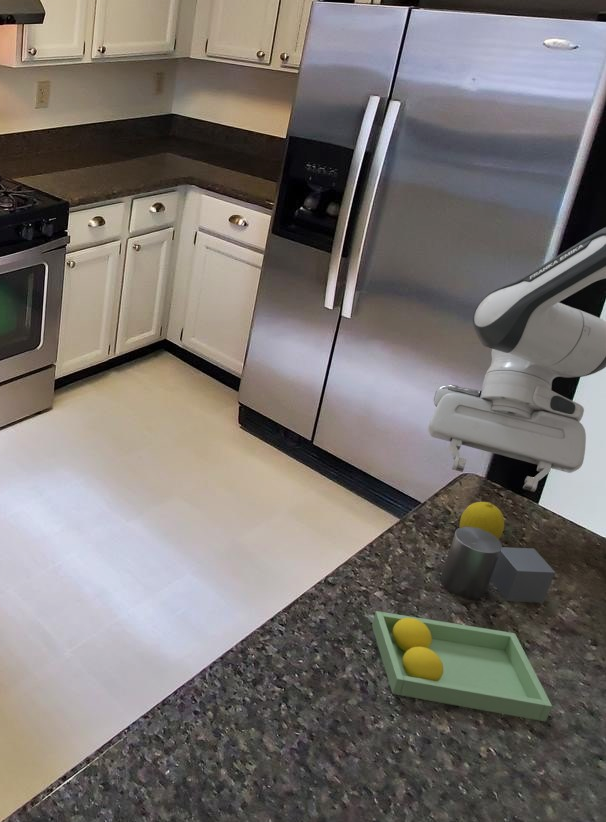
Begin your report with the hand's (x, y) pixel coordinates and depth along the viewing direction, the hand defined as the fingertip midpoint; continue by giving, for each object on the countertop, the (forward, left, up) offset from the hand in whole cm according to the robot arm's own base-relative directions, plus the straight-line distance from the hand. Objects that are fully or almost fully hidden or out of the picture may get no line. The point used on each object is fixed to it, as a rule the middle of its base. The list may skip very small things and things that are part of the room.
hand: (492, 479), depth 124 cm
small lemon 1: (+17, +31, -8) cm, 36 cm away
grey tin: (+7, +16, -9) cm, 20 cm away
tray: (+13, +33, -9) cm, 37 cm away
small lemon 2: (+17, +36, -8) cm, 41 cm away
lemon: (+2, +5, -9) cm, 11 cm away
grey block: (0, +15, -9) cm, 18 cm away
